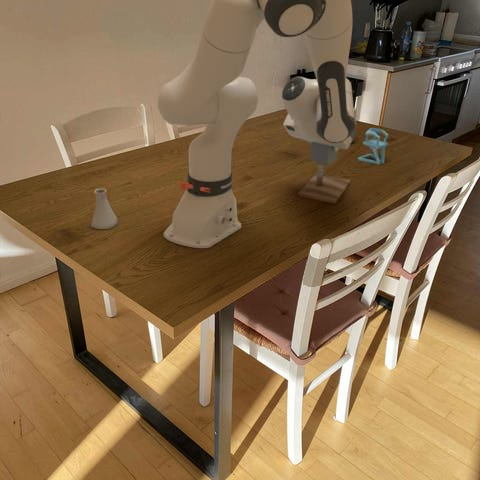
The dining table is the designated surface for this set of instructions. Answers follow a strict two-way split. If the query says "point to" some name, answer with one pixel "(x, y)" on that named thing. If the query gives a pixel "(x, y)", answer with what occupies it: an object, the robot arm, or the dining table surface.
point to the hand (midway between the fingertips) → (325, 146)
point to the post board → (324, 187)
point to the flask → (103, 212)
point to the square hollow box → (322, 153)
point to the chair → (375, 146)
